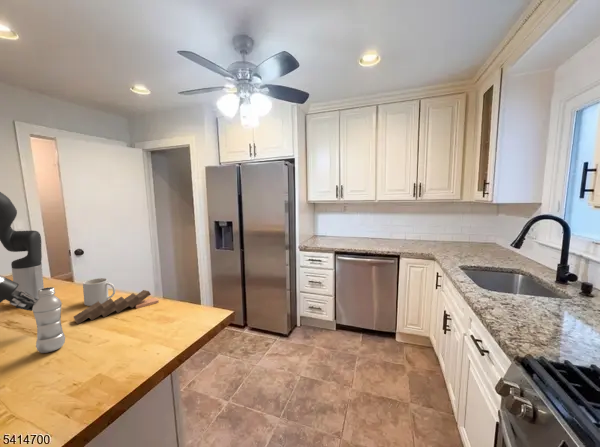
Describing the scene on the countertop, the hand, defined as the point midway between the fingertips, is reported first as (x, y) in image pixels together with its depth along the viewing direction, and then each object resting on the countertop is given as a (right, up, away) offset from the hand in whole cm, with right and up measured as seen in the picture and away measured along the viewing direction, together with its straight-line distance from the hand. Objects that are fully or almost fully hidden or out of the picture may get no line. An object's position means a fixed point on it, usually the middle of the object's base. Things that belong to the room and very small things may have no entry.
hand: (48, 311), depth 93 cm
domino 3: (+10, -5, +12) cm, 16 cm away
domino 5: (+17, -4, +19) cm, 26 cm away
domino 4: (+13, -5, +15) cm, 21 cm away
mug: (-1, -5, +25) cm, 26 cm away
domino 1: (+5, -6, +6) cm, 9 cm away
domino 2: (+8, -5, +9) cm, 13 cm away
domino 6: (+18, -5, +20) cm, 28 cm away
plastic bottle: (+13, -8, -12) cm, 19 cm away
